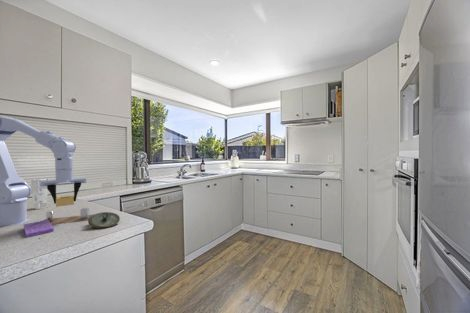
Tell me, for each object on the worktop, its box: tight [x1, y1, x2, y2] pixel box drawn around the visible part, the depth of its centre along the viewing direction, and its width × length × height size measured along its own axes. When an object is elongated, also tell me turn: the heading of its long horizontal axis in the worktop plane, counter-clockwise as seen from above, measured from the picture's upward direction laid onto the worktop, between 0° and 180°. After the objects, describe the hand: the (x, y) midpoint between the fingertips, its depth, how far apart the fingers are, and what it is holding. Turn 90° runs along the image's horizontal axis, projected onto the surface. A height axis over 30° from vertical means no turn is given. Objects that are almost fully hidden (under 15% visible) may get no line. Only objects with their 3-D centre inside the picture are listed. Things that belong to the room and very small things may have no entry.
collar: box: [55, 194, 75, 208], centre depth 87 cm, size 6×6×3 cm
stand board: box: [44, 207, 94, 226], centre depth 88 cm, size 19×10×5 cm, turn 110°
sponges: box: [23, 218, 55, 238], centre depth 75 cm, size 7×13×2 cm, turn 48°
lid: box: [87, 211, 121, 229], centre depth 82 cm, size 11×10×5 cm
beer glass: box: [30, 178, 49, 210], centre depth 112 cm, size 7×7×15 cm
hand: (65, 202), depth 87 cm, fingers closed on collar, 6 cm apart
